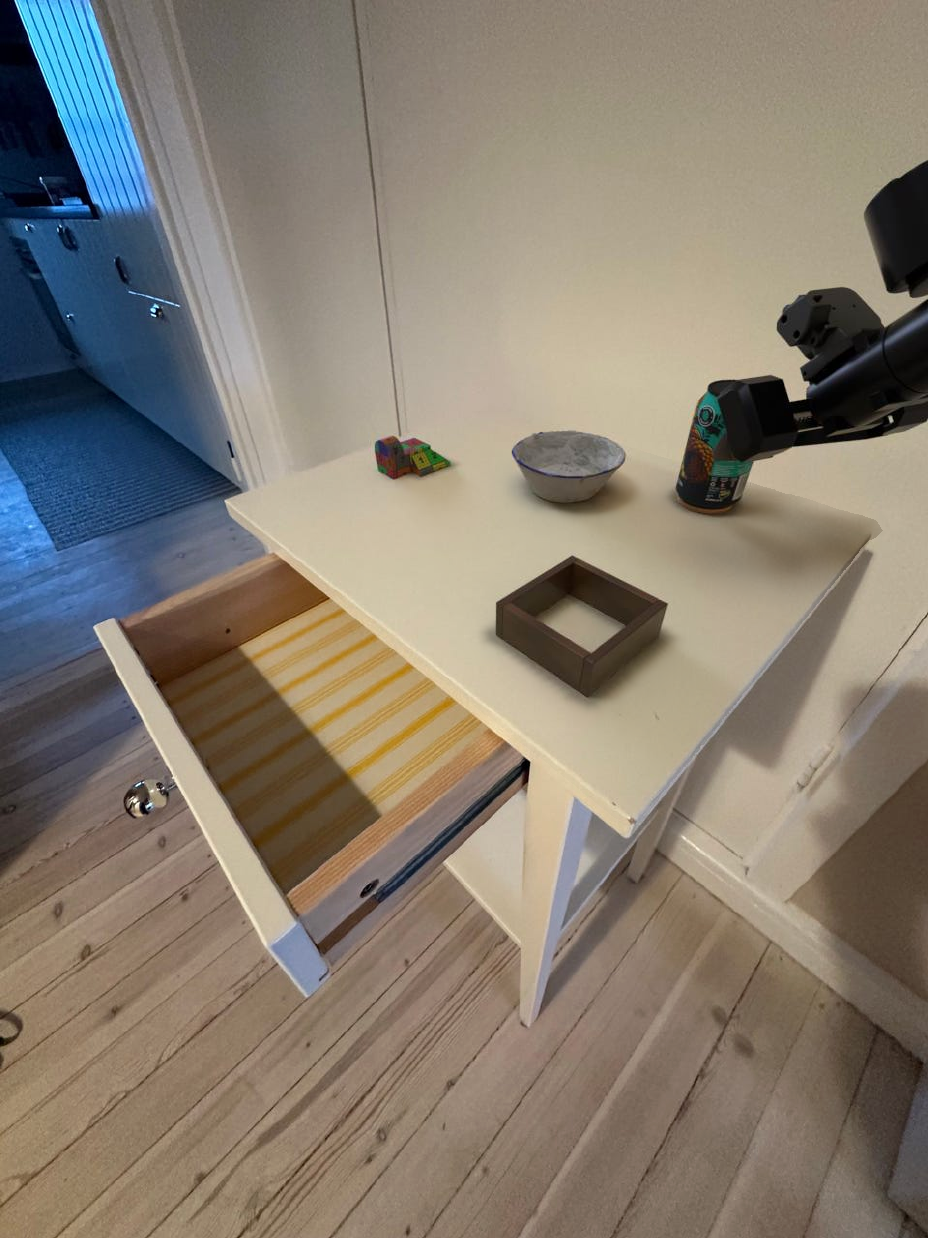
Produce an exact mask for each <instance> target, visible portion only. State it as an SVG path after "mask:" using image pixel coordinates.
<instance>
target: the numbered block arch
mask: <svg viewBox="0 0 928 1238" xmlns="http://www.w3.org/2000/svg"><path fill="white" fill-rule="evenodd" d="M374 453H375V460H376V468H377V471H378V472H380V473H382V474H383V475H385V476H387V477H389V478H390V479H392V480H396V479H398V478H401V477H404V476H406V475H409V474H412V473H413V474H416V475H417V476H419V477H423V476H426V475H428V474H431V473H433V472H436V471H438V470H439V471H440V470H441V469H445V468H446V467H449V466H451V461H450V460H448V459H447V458H446V457H444V456H443V455H441V454H439V453H438V452H437V451H435V450H433V449H432V446H431V444H428V443H426V442H425V441H422V440H421V439H418V438H416V437H412V438H409V439H406V440H402V441H400V439H399V438H398V437H397V436H395V435H390V436H386V437H384V438H380V439H377V440H376V441H375V442H374Z"/></svg>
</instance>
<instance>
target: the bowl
mask: <svg viewBox="0 0 928 1238" xmlns="http://www.w3.org/2000/svg"><path fill="white" fill-rule="evenodd" d="M511 455H512V457H513V459H514V461H515V462H516V464H517V466H518V468H519V469H520V471H521V473H522V475H523V477H524V479H525V481H526V483H527V484H528V487H530V489H531V491H532V492H533V493H534V494H535V495H536V496H538V497H539V498H541V499H544V500H547V501H550V502H555V503H562V504H563V503H564V504H566V503H567V504H568V503H579V502H582V501H587V500H589V499H591V498H592V497H594V496H595V495H597V493H599V491H600V490H601V489H602V488H603V486H605V484H606V483H607V482H608V481H609V479H610V478H612V476H613V475H614V474H615V473H616V472H617V471H618V469H620V468H621V467H622V466H623V464H624V463H625V462H626V457H627V454H626V451H625V450H624V448H623V447H622V446H621V445H619V444H618V443H617V442H615V441H613V440H611V439H610V438H607V437H605V436H602V435H599V434H594V433H589V432H588V433H587V432H583V431H578V430H570V429H569V430H555V431H554V430H551V431H540V432H537V433H535V432H533V433H532V434H531V435H530V436H527V437H525V438H523V439H521V440H520V441H518V442H516V443H515V445H514V446H513V447H512V449H511Z"/></svg>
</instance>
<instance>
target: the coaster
mask: <svg viewBox="0 0 928 1238" xmlns="http://www.w3.org/2000/svg"><path fill="white" fill-rule="evenodd" d="M676 499H677V502H678V503H679V504H680V505H681V506H683V507H684V508H686V509H688V510H691V511H693V512H696V513H703V514H722V513H725V512H728V511H729V510H731V509H732V508H733V505H732V506H730V507H728V508H724V509H717V510H710V509H703V508H698V507H695V506H692V505H690V504H688V503H686V502H685V501H683V500H682V499H681V497H680V496H679V494H678V493H677V495H676Z"/></svg>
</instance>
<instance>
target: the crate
mask: <svg viewBox="0 0 928 1238" xmlns="http://www.w3.org/2000/svg"><path fill="white" fill-rule="evenodd" d="M569 595H571V596H573V597H575V598H577V599H579V600H580V601H582V602H583V603H586V604H587V605H589V606H591V607H593V608H595V609H596V610H598V611H600V612H601V613H604V614H606V615H607V616H609V617H611V618H613V619H615V620H616V621H617V622H620V623H621V624H623V625H625V626H624V627H622V628H621V629H620V630H619V631H617V632H616V633H615V634H613V636H611V637H610V638H608V639H607V640H606V641H605V642H603V643H602V644H601V645H600V646H599V647H597V648H596V649H595V650H593V651H591V652H590V651H589V650H587V649H585V648H584V647H582V646H581V645H580V644H578V643H576V642H575V641H573V640H571V639H570V638H569V637H566V636H565V635H563V634H561V633H560V632H559V631H557V630H555V629H554V628H552V627H550V626H549V625H547V624H545V623H544V622H542V621H540V620H539V619H537V618H536V617H537V616H538V615H540V614H542V613H543V612H545V611H546V610H547V609H549V608H550V607H552V606H553V605H555V604H556V603H558V602H559V601H561V600H562V599H564V598H565V597H567V596H569ZM668 605H669V603H668V602H666V601H664V600H662V599H660V598H659V597H657V596H655V595H652V594H650V593H649V592H647V591H644V590H642V589H641V588H638V587H637V586H634V585H632V584H631V583H629V582H626V581H624V580H622V579H620V578H619V577H618V576H617V577H616V576H615V575H612V574H610V573H609V572H606V571H604V570H602V569H601V568H599V567H596V566H595V565H592V564H590V563H588V562H586V561H585V560H582V559H580V558H578V557H576V556H575V555H573V554H572V555H570V556H569V557H567V558H566V559H564V560H562V561H561V562H559V563H558V564H556V565H555V566H553V567H551V568H549V569H547V570H546V571H544V572H543V573H541V574H540V575H538V576H536V577H535V578H533V579H531V580H530V581H528V582H526V583H524V584H523V585H521V586H519V588H517V589H515V590H514V591H512V592H511V593H509V594H507V595H505V596H504V597H502V598H500V599H499V600H497V601H495V635H496V636H497V637H499V638H501V639H502V640H503V641H505V642H506V643H508V644H509V645H510V646H512V647H514V648H515V649H516V650H517V651H519V652H520V653H522V654H524V655H525V656H527V657H528V658H529V659H531V660H532V661H534V662H535V663H536V664H539V665H540V666H541V667H542V668H544V669H545V670H547V671H548V672H549V673H551V674H553V675H554V676H556V677H557V678H559V679H560V680H562V681H563V682H565V683H566V684H567V685H569V686H570V687H571V688H573V689H575V690H576V691H578V692H579V693H581V694H582V695H584V696H585V697H589V696H590V695H591V694H592V693H593V692H595V691H596V690H597V689H598V688H599V687H601V686H602V685H603V684H604V683H605V682H607V680H609V679H610V678H611V677H612V676H614V675H615V673H617V672H618V671H620V670H621V669H622V668H624V666H625V665H627V664H628V663H629V662H630V661H632V660H633V659H634V658H635V657H636V656H637V655H638V654H640V653H641V652H642V651H643V650H644V649H646V648H647V647H648V646H649V645H650V644H651V643H652V642H654V641H655V640H656V639H657V638H659V636H660V634H661V631H662V627H663V623H664V620H665V616H666V614H667V610H668Z"/></svg>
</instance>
